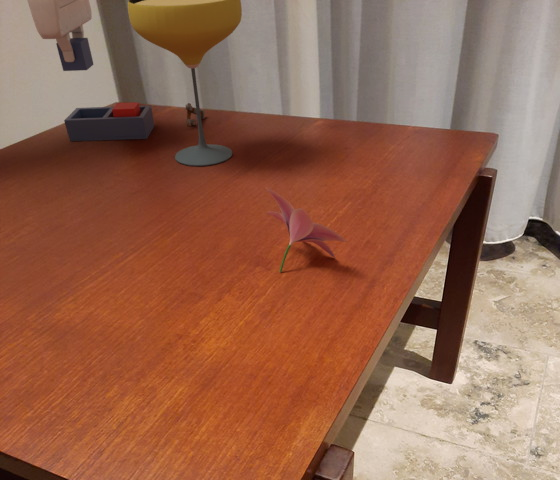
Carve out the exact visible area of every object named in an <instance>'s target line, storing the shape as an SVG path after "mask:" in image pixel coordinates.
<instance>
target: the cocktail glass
mask: <svg viewBox="0 0 560 480" xmlns="http://www.w3.org/2000/svg"><path fill="white" fill-rule="evenodd" d="M127 12H128V18H129V22H130V24H131V27H132V29H133V31H135V32H136V34H138V35H139V36H140V37H141V38H143V39H144V40H146V41H147V42H148V43H151V44H154V45H155V46H157V47H159V48H161V49H164V50H165V51H168V52H171V54H174V55H175V56H177V57H178V59H180V60H181V62H182V63H183V64H184V65H185V67H187V68H188V69H190V71H191V78H192V87H193V94H194V95H193V96H194V102H195V108H196V112H197V118H196V121H197V128H198V144H197V145H191V146H188V147H185V148H183V149H180V150H179V151H177V152H176V154H174V155H175V156H174V159H175V161H176V162H177V163H178V164H180V165H183V166H189V167H208V166H209V167H210V166H216V165H219V164H223V163H224V162H227V161H228V160H229V159H231V158H232V156H233V150H232V149H231V148H230V147H227V146H225V145H220V144H213V143H210V144H208V143H207V141H206V137H205V133H204V129H203V122H202V118H201V114H200V109H201V108H200V101H199V92H198V84H197V76H196V69H197V68H198V67H199V66H200V64H201V63H202V60H203V58H204V56H205V55H206V54H207V53H208V52H209V51H210V50H211V49H213V48H214V47H215V46H217V45H218V44H220V43H221V42H222V41H224V40H226V39H227V38H228V37H229V36H230V35H231V34H233V32H235V30H236V29H237V28H238V26H239V25H240V23H241V21H242V15H243V13H242V12H243V10H242V1H241V0H128V1H127Z"/></svg>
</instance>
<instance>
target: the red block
mask: <svg viewBox="0 0 560 480" xmlns="http://www.w3.org/2000/svg"><path fill="white" fill-rule="evenodd" d="M140 106H141V105H140V103H139V102H138V101H137V102H133V101H132V102H117V103H116V104H115V105H114V106H113V107H114V108H113V109H112V111H113V116H114V117H137V116H140V114H141V112H140Z"/></svg>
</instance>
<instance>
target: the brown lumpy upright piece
mask: <svg viewBox="0 0 560 480" xmlns="http://www.w3.org/2000/svg"><path fill="white" fill-rule="evenodd" d="M185 110H186V127H187V128H190V127H191V126H196V120H194V119H191V116H192V115H195V118H196V119H197V112H196V107H193V105H192V104H191V103H189V102H188V103H186V104H185ZM200 114H201V120H202V119H203V120H204V119H205V109H202V108H200Z"/></svg>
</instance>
